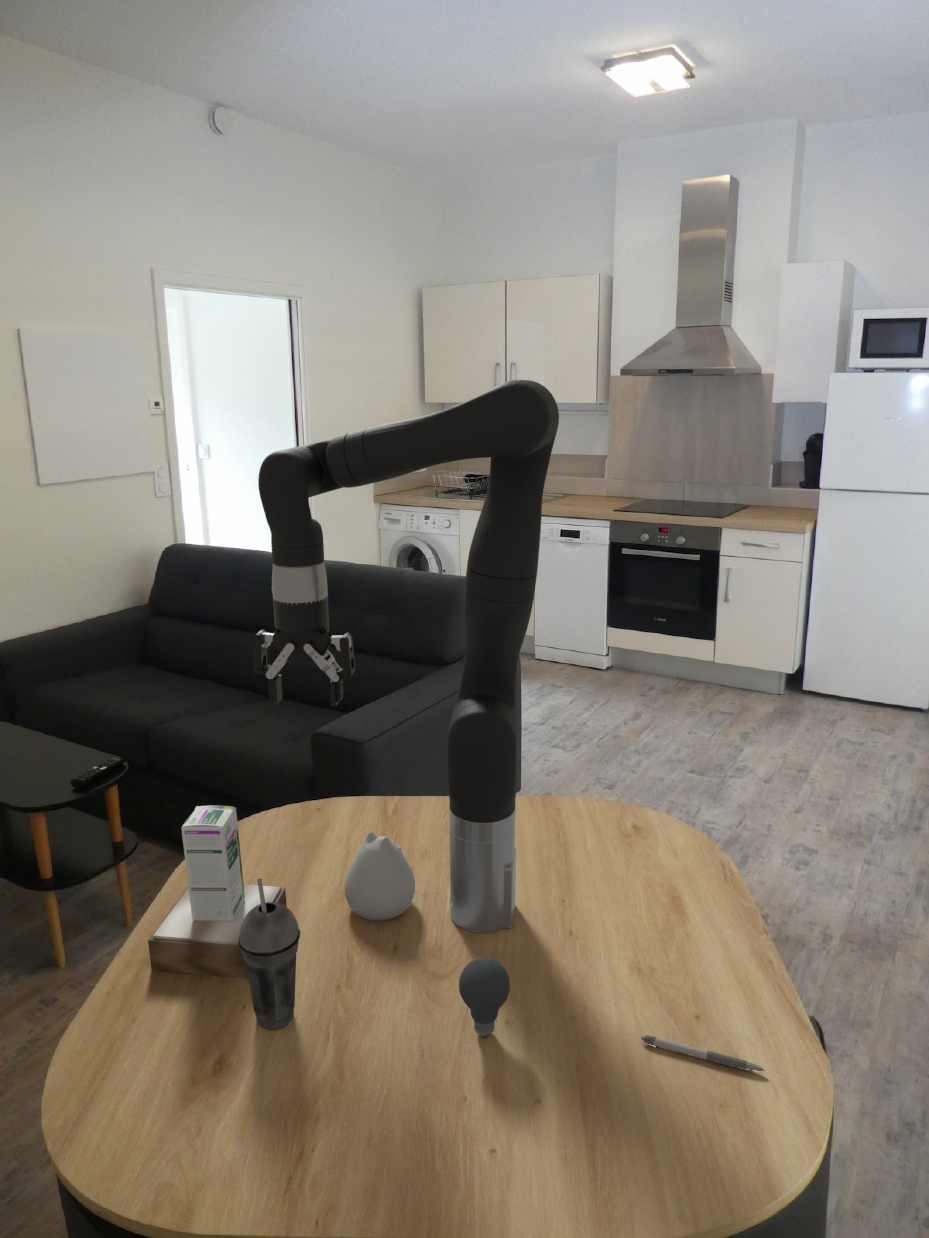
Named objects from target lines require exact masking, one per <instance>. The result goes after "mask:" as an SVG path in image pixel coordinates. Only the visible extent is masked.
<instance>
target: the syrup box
mask: <svg viewBox="0 0 929 1238" xmlns="http://www.w3.org/2000/svg"><path fill="white" fill-rule="evenodd" d="M238 825H239V824H238V815H237V808H236V807H235V806H231V805H230V806H229V805H217V804H216V805H212V804H210V805H200V806H199V805H196V806H195V808H194V810H193V811H192V813H191V814H190V815H189V816H188V818H186V820H185V821H184V823H183V824H182V826H181V838H182V843H183V844H182V845H183V853H184V861H185V862H184V863H185V870H186V877H187V888H189V896H190V905H191V913H192V919H193V920H195V921H210V922H233V920H234V917H235V916H236V914H237V912H238V910H239V908H240V906H241V904H242V902H243V900H244V898H245V893H244V884H245V883H244V875H243V864H242V855H241V845H240V844H241V843H240V836H239V835H240V834H239V826H238Z"/></svg>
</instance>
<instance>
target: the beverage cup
mask: <svg viewBox="0 0 929 1238" xmlns="http://www.w3.org/2000/svg"><path fill="white" fill-rule="evenodd" d="M257 885H258V888H259V895H260V901H261V904H259V905H257V906H255V907H254V908H253V909H251V910H250V911H249V912H248V913H247V915H246V916H245V918H244V920H243V921H242V924H241V928H240V934H239V941H238V944H239V946H240V949H241V952H242V955H243V958H244V960H245V965H246V970H247V976H248V979H247V980H248V985H249V990H250V991H249V992H250V996H251V1003H252V1007H253V1012H254V1014H255V1017H256V1018H255V1020H256V1024H257V1026H258V1027H260V1029H263V1030H266V1031H278V1030H281V1029H284V1028H286V1027H287V1026H289V1025H290V1024H291V1023H292V1021H293V1019H294V1017H295V1013H294V1012H295V1006H296V1005H295V1004H296V1003H295V1001H296V980H297V979H296V977H297V976H296V973H297V971H296V970H297V953H298V948H299V943H300V942H299V940H300V937H301V931H300V928H299V923H298V920H297V918H296V917H295V915H294V913H293V912H292V910H290V908H288V907H285V906H284V905H282V904H280V903H277V902H265V897H264V891H263V886H264V885H263V879H262V877H261V878H257Z"/></svg>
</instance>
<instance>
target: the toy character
mask: <svg viewBox="0 0 929 1238" xmlns="http://www.w3.org/2000/svg"><path fill="white" fill-rule="evenodd" d="M343 889H344V895H345V899H346V902H347V904H348V906H349V908H350V910H351V911H353V913H355V914H356V915H357V916H359V917H361V918H363V919H367V920H371V921H383V920H384V921H386V920H390V919H393V918H396V917H398V916H400V915H401V914H403V913H404V912H405V911H406V910H407V909H408V908H409V907H410V905H412V902H413V899H414V895H415V893H416V879H415V876H414V873H413V869H412V867H411V866H410V864H409V862H408V859H407V857H406V856H405V854H404V853H403V851H402V848H401V847H400V845H398V844H397V843H396V842H395V841H393V840H392V838H390V837H389V836H387V835H386V836H383V835H380V836H379V835H378V834H377V833H376V832H375V831H374V830H371V831H369V832H368V833H367V835H366V836H365V838H364V840H363V842H362V844H361V845H360V847H359V848H358V850H357V852H356V854H355V855H354V858H353V859H352V862H351V864H350V866H349V869H348V871H347V874H346V876H345V882H344V888H343Z"/></svg>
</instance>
